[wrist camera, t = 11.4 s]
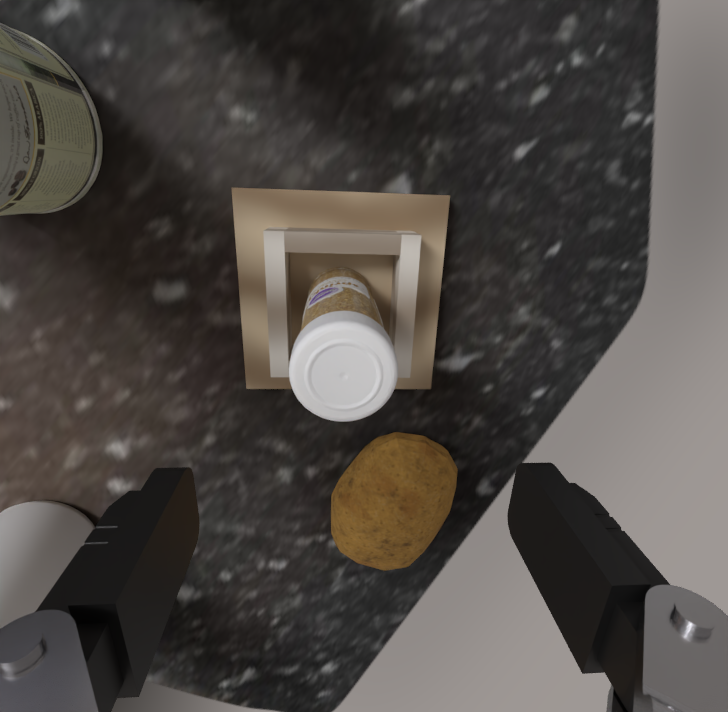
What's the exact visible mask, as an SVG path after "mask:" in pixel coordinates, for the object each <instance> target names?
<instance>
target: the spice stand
mask: <svg viewBox="0 0 728 712" xmlns="http://www.w3.org/2000/svg"><path fill="white" fill-rule="evenodd" d="M232 200H233V214H234V227H235V241H236V254H237V268H238V281H239V295H240V309H241V322H242V336H243V349H244V363H245V376H246V389H292V387H291V384H290V379H289V364H290V358H291V353H292V349H293V346H294V343H295V341H296V339H297V337H298V335H299V334H300V332H301V326H302V320H303V314H304V310H305V306H306V302H307V299H308V291H309V288H310V286H311V284H312V282H313V280H314V279H315V278H316V277H317V276H318V275H319V274H320V273H321V272H323V271H325V270H326V269H330V268H335V267H347V268H351V269H353V270H355V271H356V272H359V273H360V274H361V275H362V276H363V277H364V278H365V279H366V280H367V281H368V283H369V285H370V288H371V291H372V298H373V299H374V300H375V303H376V306H377V308H378V311H379V314H380V317H381V319H382V323H383V326H384V330H385V331H386V332H387V334H388V336H389V337H390V339H391V342H392V344H393V347H394V350H395V354H396V357H397V362H398V378H397V383H396V386H395V389H431V382H432V372H433V362H434V352H435V342H436V332H437V322H438V312H439V302H440V292H441V282H442V272H443V262H444V252H445V242H446V232H447V222H448V212H449V202H450V195H422V194H394V193H367V192H339V191H311V190H283V189H255V188H232Z"/></svg>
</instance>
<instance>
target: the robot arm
mask: <svg viewBox="0 0 728 712" xmlns="http://www.w3.org/2000/svg"><path fill="white" fill-rule="evenodd" d="M508 525H509V530H510V534H511V537H512V539H513V541H514V543H515V545H516V546H517V548H518V550H519V552H520V554H521V556H522V558H523V560H524V562H525V564H526V566H527V568H528V570H529V571H530V573H531V575H532V577H533V579H534V581H535V583H536V585H537V587H538V589H539V591H540V593H541V595H542V597H543V598H544V600H545V602H546V604H547V606H548V608H549V610H550V612H551V614H552V616H553V618H554V620H555V622H556V624H557V625H558V627H559V629H560V631H561V633H562V635H563V637H564V639H565V641H566V643H567V644H568V647H569V648H570V651H571V652H572V654H573V656H574V658H575V660H576V662H577V664H578V666H579V668H580V670H581V672H582V673H584V674H585V673H601V672H605V673H606V675H607V677H608V679H609V681H610V682H611V684H612V685H611V688H610V690H609V694H608V702H607V712H728V616H727V615H726V614H725V613H724V612H723V611H722V610H721V609H719V608H718V607H717V606H716V605H714V604H713V603H712V602H710V601H708V600H707V599H706V598H704V597H702V596H700V595H698V594H696V593H694V592H692V591H690V590H687V589H684V588H681V587H677V586H673V585H670V584H669V583H668V582H667V580H666V579H665V578H664V577H663V576H662V575H661V573H660V572H659V571H658V570H657V569H656V568H655V566H654V565H653V564H652V563H651V562H650V561H649V559H648V558H647V557H646V556H645V555H644V554H643V552H642V551H641V550H640V549H639V548H638V547H637V545H636V544H635V543H634V542H633V541H632V540H631V538H630V537H629V536H628V535H627V534H626V533H625V531H622V530H621V527H620V526H619V524H617V522H616V521H615V520H614V519H613V517H610V516H609V513H608V512H607V511H606V509H605V508H604V507H603V506H602V505H601V504H600V502H598V500H597V499H596V498H595V497H594V496H593V495H591V494H590V493H588V492H587V491H585V490H584V489H583V488H581V487H579V486H578V485H577V484H575V483H569V482H568V481H567V480H566V479H565V478H564V476H563V475H562V474H561V473H560V471H559V470H558V469H557V468H556V466H555V465H553V464H552V463H521V464H519V465H518V467H517V469H516V474H515V479H514V484H513V489H512V494H511V499H510V504H509V509H508ZM198 534H199V513H198V506H197V499H196V492H195V484H194V477H193V472H192V470H191V468H156V469H155V470H154V471H153V472H152V473H151V475H150V477H149V478H148V480H147V481H146V483H145V484H144V486H143V488H142V489H141V491H129V492H127V493H126V494H125V495H123V496H122V497H121V498H120V499H118V500H117V501H116V502H114V503H113V504H112V505H111V506H109V507H108V509H107V510H106V512H105V513H104V514H103V516H102V517H101V519H100V520H99V522H98V523H97V524H96V528H95V529H93V530H92V532H91V533H90V534H89V536H88V537H87V539H86V540H85V543H84V546H81V547H80V549H79V550H78V552H77V553H76V554H75V556H74V557H73V559H72V560H71V562H70V563H69V564H68V566H67V567H66V569H65V570H64V572H63V573H62V574H61V576H60V577H59V579H58V580H57V581H56V583H55V584H54V586H53V587H52V589H51V590H50V591H49V593H48V594H47V596H46V597H45V599H44V600H43V601H42V603H41V604H40V606H39V607H38V609H37V610H36V611H35V612H34V613H31V614H28V615H25V616H23V617H20V618H18V619H16V620H14V621H12V622H11V623H9V624H7V625H6V626H4V627H2V628H1V629H0V712H111V711H112V708H113V706H114V703H115V701H116V699H117V698H126V697H139V695H140V692H141V689H142V687H143V684H144V682H145V679H146V676H147V674H148V671H149V669H150V666H151V663H152V661H153V658H154V655H155V653H156V650H157V647H158V645H159V642H160V640H161V637H162V634H163V632H164V629H165V626H166V624H167V621H168V618H169V616H170V613H171V611H172V608H173V605H174V603H175V600H176V597H177V595H178V592H179V589H180V587H181V584H182V582H183V579H184V576H185V574H186V571H187V568H188V566H189V563H190V560H191V558H192V555H193V553H194V550H195V547H196V544H197V540H198Z"/></svg>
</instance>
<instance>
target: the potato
mask: <svg viewBox="0 0 728 712" xmlns="http://www.w3.org/2000/svg"><path fill="white" fill-rule="evenodd" d="M457 470H458V469H457V467H456V465H455V463H454V461H453V459H452V458H451V456H450V454H449V452H448V451H447V450H446V449H445V448H444V447H443V446H442V445H440V444H438V443H436V442H434V441H432V440H430V439H428V438H427V437H425V436H422V435H415V434H407V433H400V432H394V433H391V434H387V435H383V436H379V437H377V438H376V439H374V440H373V441H372V442H370V443H369V444H368V445H366V446H365V447H364V448H363V449H362V451H361V452H360V453H359V454H358V455H357V457H356V458H355V459H354V460H353V462H352V463H351V464H350V465H349V467H348V468H347V469H346V470H345V472H344V473H343V475H342V476H341V478H340V479H339V481H338V483H337V485H336V487H335V489H334V491H333V493H332V495H331V534H332V536H333V539H334V541H335V544H336V546H337V547H338V549H339V550H340V552H342V553H343V554H345V555H346V556H348V557H349V558H351V559H352V560H354V561H355V562H357V563H359V564H363V565H366V566H370V567H373V568H377V569H381V570H384V571H385V570H391V569H398V568H404V567H408V566H409V565H410V564H412V563H413V562H414V561H415V560H416V559H417V558H418V557H419V556H420V555H421V554H422V553H423V552H424V551H425V550H426V548H427V547H428V546H429V544H430V543H431V542H432V541H433V539H434V537H435V536H436V534H437V533H438V531H439V530H440V528H441V527H442V525H443V523H444V521H445V520H446V518H447V516H448V514H449V512H450V509H451V505H452V501H453V497H454V493H455V489H456V483H457Z"/></svg>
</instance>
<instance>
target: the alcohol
mask: <svg viewBox="0 0 728 712" xmlns="http://www.w3.org/2000/svg"><path fill="white" fill-rule="evenodd" d="M93 529H95V526H94V525H93V523H92V522H91V521H90V519H89V518H88V517H87V516H86V515H84V514H83V513H82V512H80V511H79V510H77V509H75V508H73V507H71V506H69V505H66V504H63V503H60V502H55V501H48V500H38V501H31V502H26V503H22V504H18V505H14V506H12V507H9V508H7V509H5V510H4V511H2V512H1V513H0V629H1V628H2V627H4V626H6V625H7V624H9V623H11V622H12V621H14V620H16V619H18V618H20V617H23V616H25V615H28V614H31V613H34V612H35V611H36V610H37V609H38V607H39V606H40V604H41V603H42V601H43V600H44V599H45V597H46V596H47V594H48V593H49V591H50V590H51V589H52V587H53V586H54V584H55V583H56V581H57V580H58V579H59V577H60V576H61V574H62V573H63V572H64V570H65V569H66V567H67V566H68V564H69V563H70V562H71V560H72V559H73V557H74V556H75V554H76V553H77V552H78V550H79V549H80V547H81V546H84V543H85V540H86V539H87V537H88V536H89V534H90V533H91V532H92V530H93Z"/></svg>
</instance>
